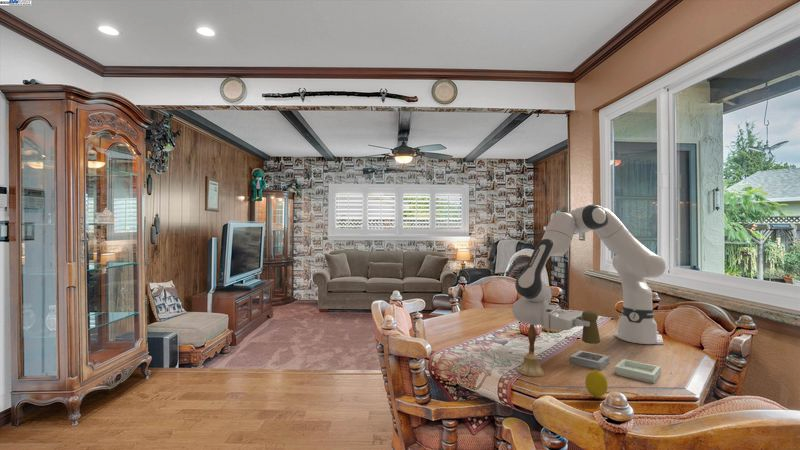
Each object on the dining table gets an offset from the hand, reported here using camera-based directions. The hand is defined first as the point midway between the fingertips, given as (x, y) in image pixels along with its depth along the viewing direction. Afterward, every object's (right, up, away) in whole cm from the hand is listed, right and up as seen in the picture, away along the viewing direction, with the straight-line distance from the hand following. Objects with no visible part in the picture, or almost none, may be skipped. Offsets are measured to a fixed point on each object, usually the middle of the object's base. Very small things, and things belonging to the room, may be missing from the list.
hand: (592, 322), depth 138 cm
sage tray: (+10, -15, -10) cm, 20 cm away
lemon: (-14, -14, -29) cm, 35 cm away
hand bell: (-25, -14, -10) cm, 31 cm away
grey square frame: (-1, -15, 0) cm, 15 cm away
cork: (+1, -7, +2) cm, 7 cm away
